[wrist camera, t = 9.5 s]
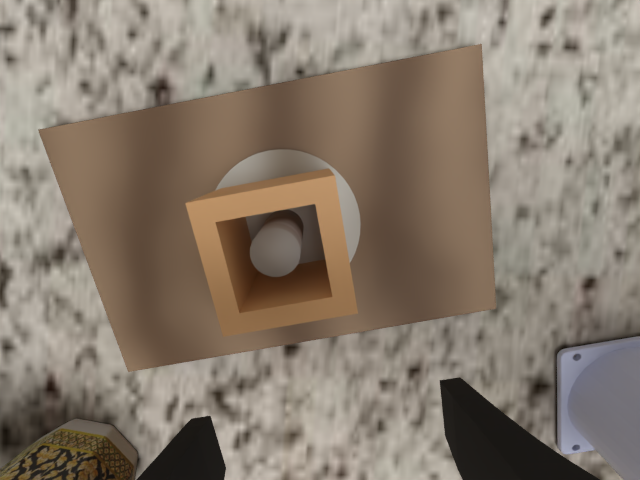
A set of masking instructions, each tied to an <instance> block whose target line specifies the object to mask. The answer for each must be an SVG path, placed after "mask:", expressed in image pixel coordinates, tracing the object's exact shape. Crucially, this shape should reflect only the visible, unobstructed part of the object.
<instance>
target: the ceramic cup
mask: <svg viewBox="0 0 640 480" xmlns="http://www.w3.org/2000/svg"><path fill="white" fill-rule="evenodd" d="M137 454H138V453H137V451H136V450H135V449H134V448H133V447H132V445H131V444H130V443H129V442H128V441H127V440H126V439H125V438H124V437H123V436H122V435H121V434H120V433H119V431H118V430H117V429H116V428H115V427H114V426H112V425H109V424H104V423H98V422H93V421H88V420H82V419H73V420H71V421H69V422H67V423H65V424H63V425H62V426H60V427H58V428H57V429H55V430H53V431H51V432H50V433H48V434H46V435H44V436H43V437H41V438H40V439H38V440H37V441H36V442H34V443H33V444H32V445H30V446H29V447H28V448H26V449H25V450H24V451H22V452H21V453H20V454H19V455H18V456H16V457H15V458H14V459H13V460H11V461H10V462H9V463H8V464H6V465H5V466H4V467H2V468H1V469H0V480H135V474H136V467H137V460H138V456H137Z"/></svg>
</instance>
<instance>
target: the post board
mask: <svg viewBox="0 0 640 480" xmlns="http://www.w3.org/2000/svg"><path fill="white" fill-rule="evenodd" d="M38 131H39V133H40V136H41V139H42V141H43V144H44V147H45V150H46V152H47V155H48V158H49V160H50V163H51V166H52V168H53V171H54V174H55V176H56V179H57V182H58V184H59V187H60V190H61V192H62V195H63V198H64V201H65V203H66V206H67V209H68V211H69V214H70V217H71V219H72V222H73V225H74V227H75V230H76V233H77V235H78V238H79V241H80V243H81V246H82V249H83V251H84V254H85V257H86V260H87V262H88V265H89V268H90V270H91V273H92V276H93V278H94V281H95V284H96V286H97V289H98V292H99V294H100V297H101V300H102V302H103V305H104V308H105V311H106V313H107V316H108V319H109V321H110V324H111V327H112V329H113V332H114V335H115V337H116V340H117V343H118V345H119V348H120V351H121V353H122V356H123V359H124V362H125V364H126V367H127V370H128V372H130V371H136V370H142V369H148V368H154V367H159V366H165V365H171V364H177V363H183V362H189V361H194V360H200V359H206V358H212V357H218V356H223V355H229V354H235V353H241V352H247V351H253V350H258V349H264V348H270V347H276V346H282V345H287V344H293V343H299V342H305V341H311V340H316V339H322V338H328V337H334V336H340V335H346V334H351V333H357V332H363V331H369V330H375V329H380V328H386V327H392V326H398V325H404V324H410V323H415V322H421V321H427V320H433V319H439V318H444V317H450V316H456V315H462V314H468V313H473V312H479V311H485V310H491V309H496V296H495V278H494V260H493V242H492V224H491V206H490V187H489V169H488V151H487V133H486V115H485V97H484V79H483V61H482V44H479V45H474V46H469V47H464V48H458V49H453V50H448V51H443V52H438V53H433V54H427V55H422V56H417V57H412V58H407V59H402V60H396V61H391V62H386V63H381V64H376V65H371V66H365V67H360V68H355V69H350V70H345V71H340V72H334V73H329V74H324V75H319V76H314V77H309V78H304V79H298V80H293V81H288V82H283V83H278V84H273V85H267V86H262V87H257V88H252V89H247V90H242V91H236V92H231V93H226V94H221V95H216V96H211V97H205V98H200V99H195V100H190V101H185V102H180V103H174V104H169V105H164V106H159V107H154V108H149V109H143V110H138V111H133V112H128V113H123V114H118V115H113V116H107V117H102V118H97V119H92V120H87V121H82V122H76V123H71V124H66V125H61V126H56V127H51V128H45V129H40V130H38ZM328 168H329V169H330V170H331V171H332V172H333V174H334V175H335V178H336V184H337V190H338V196H339V202H340V208H341V214H342V220H343V226H344V232H345V238H346V244H347V250H348V256H349V262H350V268H351V274H352V280H353V286H354V292H355V298H356V304H357V310H358V314H352V315H346V316H341V317H335V318H329V319H323V320H318V321H312V322H306V323H300V324H294V325H289V326H283V327H277V328H271V329H266V330H260V331H254V332H248V333H242V334H237V335H231V336H225V337H223V335H222V331H221V328H220V324H219V321H218V317H217V314H216V310H215V306H214V303H213V299H212V296H211V292H210V289H209V285H208V282H207V278H206V275H205V271H204V268H203V264H202V260H201V257H200V253H199V250H198V246H197V243H196V239H195V236H194V232H193V229H192V225H191V222H190V218H189V214H188V211H187V207H186V204H185V203H187V202H189V201H191V200H194V199H196V198H199V197H201V196H203V195H206V194H208V193H211V192H213V191H216V190H218V189H220V188H226V187H231V186H236V185H242V184H247V183H252V182H258V181H263V180H269V179H274V178H279V177H285V176H290V175H296V174H301V173H306V172H312V171H317V170H323V169H328ZM246 221H247V225H248V229H249V233H250V237H251V242H252V244H251V247H250V258H251V261H252V263H253V265H254V266H255V268H256V269H257V270H258V271H260V272H261V273H263V274H265V275H267V276H271V277H281V276H284V275H287V274H289V273H290V272H292V271H293V270H294V269H295V268H296V266H297V265H298V264H301V263H307V262H312V261H318V260H324V259H325V254H324V249H323V243H322V238H321V233H320V227H319V222H318V217H317V211H316V206H315V204H312V205H307V206H301V207H296V208H290V209H285V210H279V211H274V212H268V213H263V214H258V215H252V216H247V217H246Z"/></svg>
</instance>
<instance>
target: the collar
mask: <svg viewBox="0 0 640 480" xmlns="http://www.w3.org/2000/svg"><path fill="white" fill-rule="evenodd" d="M185 204H186V207H187V211H188V214H189V218H190V222H191V225H192V229H193V232H194V236H195V239H196V243H197V246H198V250H199V253H200V257H201V260H202V264H203V268H204V271H205V275H206V278H207V282H208V285H209V289H210V292H211V296H212V299H213V303H214V306H215V310H216V314H217V317H218V321H219V324H220V328H221V331H222V335H223V337H225V336H231V335H237V334H242V333H248V332H254V331H260V330H266V329H271V328H277V327H283V326H289V325H294V324H300V323H306V322H312V321H318V320H323V319H329V318H335V317H341V316H346V315H352V314H358V310H357V304H356V298H355V292H354V286H353V280H352V274H351V268H350V262H349V256H348V250H347V244H346V238H345V232H344V226H343V220H342V214H341V208H340V202H339V196H338V190H337V184H336V178H335V175H334V174H333V172H332V171H331V170H330V169H329V168H328V169H323V170H317V171H312V172H306V173H301V174H296V175H290V176H285V177H279V178H274V179H269V180H263V181H258V182H252V183H247V184H242V185H236V186H231V187H226V188H220V189H218V190H216V191H213V192H211V193H208V194H206V195H203V196H201V197H199V198H196V199H194V200H191V201H189V202H187V203H185ZM312 204H315V206H316V211H317V217H318V222H319V227H320V233H321V238H322V243H323V249H324V254H325V259H324V260H318V261H312V262H307V263H301V264H298V265H297V266H296V268H295V269H294V270H293V271H292V272H290V273H289V274H287V275H284V276H281V277H271V276H267V275H265V274H263V273H261V272H260V271H258V270H257V269H256V268H255V266H254V265H253V263H252V261H251V258H250V247H251V244H252V242H251V237H250V233H249V229H248V225H247V221H246V217H247V216H252V215H258V214H263V213H268V212H274V211H279V210H285V209H290V208H296V207H301V206H307V205H312Z"/></svg>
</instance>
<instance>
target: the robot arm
mask: <svg viewBox="0 0 640 480" xmlns="http://www.w3.org/2000/svg"><path fill="white" fill-rule="evenodd" d="M575 354H576V355H575ZM574 355H575V357H573V356H574ZM440 387H441V397H442V408H443V418H444V428H445V436H446V439H447V442H448V444H449V447H450V450H451V452H452V455H453V458H454V460H455V463H456V465H457V468H458V471H459V473H460V475H461V477H462V479H463V480H600V479H598V478H596V477H595V476H593V475H592V474H590V473H588V472H587V471H585V470H583V469H582V468H580V467H578V466H577V465H575V464H574V463H572V462H570V461H569V460H567V459H566V458H564V457H563V456H561V455H560V454H558V453H557V452H555V451H554V450H552V449H551V448H550V447H548V446H547V445H545V444H544V443H542V442H541V441H540V440H538V439H537V438H535V437H534V436H533V435H531V434H530V433H529V432H527V431H526V430H525V429H523V428H522V427H521V426H519V425H518V424H517V423H515V422H514V421H513V420H512V419H510V418H509V417H508V416H506V415H505V414H504V413H503V412H501V411H500V410H499V409H498V408H496V407H495V406H494V405H493V404H491V403H490V402H489V401H488V400H487V399H485V398H484V397H483V396H482V395H480V394H479V393H478V392H477V391H476V390H475V389H473V388H472V387H471V386H470V385H469V384H467V383H466V382H465V381H464V380H463V379H461V378H453V379H447V380H440ZM557 436H558V448H559V450H560V451H561V452H562V453H563V454H573V453H580V452H586V451H592V450H596V451H597V452H598V453H599V454H600V455H601V456H602V457H603V458H604V459H605V460H606V462H607V463H608V464H609V465H610V466H611V467H612V468H613V469H614V470H615V471H616V472H617V473H618V474H619V475H620V476H621V477H622V479H623V480H640V336H637V337H631V338H625V339H619V340H613V341H607V342H601V343H595V344H589V345H583V346H577V347H571V348H565V349H562V350H561V351H559V353H558V355H557ZM225 470H226V467H225V463H224V460H223V457H222V453H221V450H220V447H219V443H218V440H217V437H216V433H215V430H214V426H213V423H212V420H211V416H206V417H200V418H193V419H191V420H190V421H189V422H188V423H187V424H186V425H185V426H184V427H183V428H182V429H181V431H180V432H179V433H178V434H177V435H176V436H175V437H174V438H173V440H172V441H171V442H170V443H169V444H168V445H167V446H166V448H165V449H164V450H163V451H162V452H161V453H160V454H159V455H158V457H157V458H156V459H155V460H154V461H153V462H152V463H151V464H150V466H149V467H148V468H147V469H146V470H145V471H144V472H143V473H142V474H141V476H140V477H139V478H138V479H137V480H224V477H225Z"/></svg>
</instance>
